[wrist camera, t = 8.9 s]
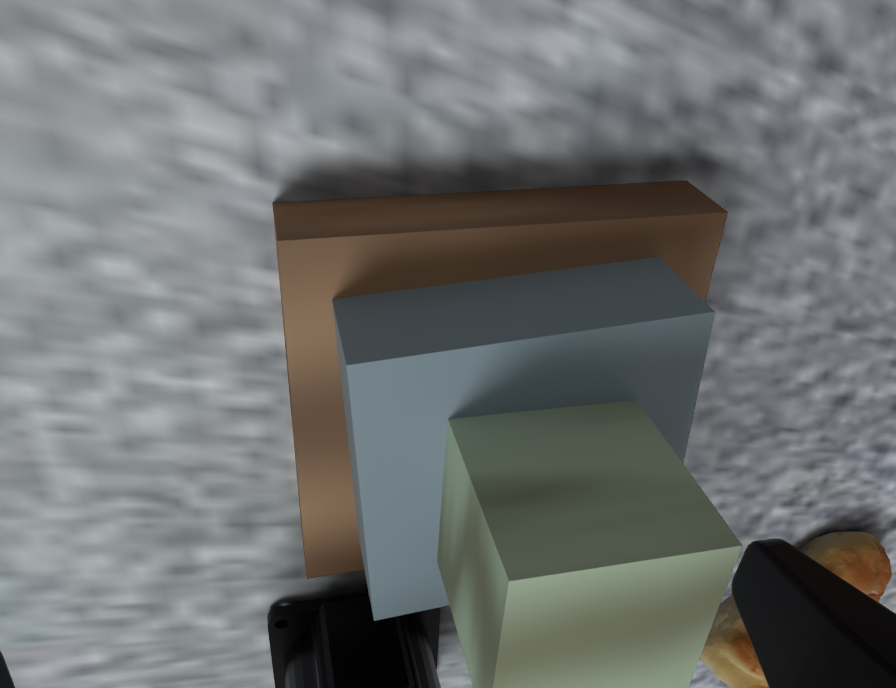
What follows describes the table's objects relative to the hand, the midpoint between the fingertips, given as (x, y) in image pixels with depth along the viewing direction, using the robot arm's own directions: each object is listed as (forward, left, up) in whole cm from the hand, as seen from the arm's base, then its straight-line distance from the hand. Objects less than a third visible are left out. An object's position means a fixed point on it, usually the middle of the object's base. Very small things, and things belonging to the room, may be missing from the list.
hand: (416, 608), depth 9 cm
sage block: (-6, -5, -8) cm, 12 cm away
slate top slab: (-6, -5, -11) cm, 14 cm away
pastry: (-22, -21, -14) cm, 33 cm away
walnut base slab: (-6, -5, -14) cm, 16 cm away
